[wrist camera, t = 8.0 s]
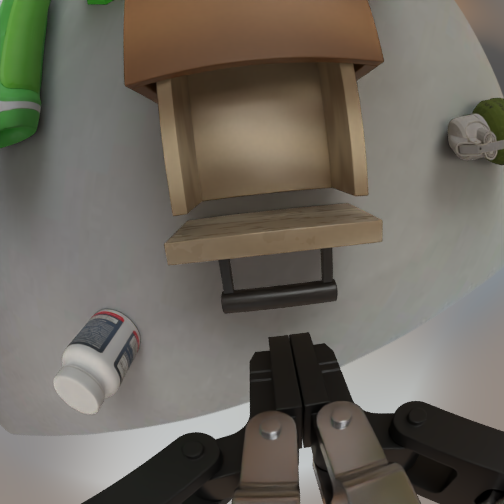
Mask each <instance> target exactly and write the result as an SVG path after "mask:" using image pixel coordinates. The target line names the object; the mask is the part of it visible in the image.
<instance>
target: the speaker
mask: <svg viewBox="0 0 504 504" xmlns="http://www.w3.org/2000/svg"><path fill="white" fill-rule="evenodd" d="M50 2H51V0H0V148H3V147H6V146H10V145H13V144H15V143H18V142H20V141H23V140H25V139H27V138H29V137H30V136H32V135H33V134H34V133H35V132H36V130H37V126H38V122H39V116H40V110H41V104H42V103H41V100H40V88H41V81H42V66H43V54H44V44H45V35H46V28H47V13H48V8H49V5H50Z"/></svg>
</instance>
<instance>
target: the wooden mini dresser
mask: <svg viewBox="0 0 504 504" xmlns="http://www.w3.org/2000/svg"><path fill="white" fill-rule="evenodd" d="M294 62H333V63H353V66H354V71H355V76H356V81H357V80H358V79H360V78H361V77H363V76H364V75H366V74H367V73H369V72H370V71H371V70H373V69H374V68H376V67H377V66H378V65H380V64H381V63H383V62H384V59H383V54H382V50H381V46H380V42H379V38H378V34H377V30H376V26H375V23H374V19H373V16H372V13H371V10H370V6H369V3H368V0H125V5H124V81H125V86H126V87H128V88H130V89H132V90H133V91H135V92H137V93H139V94H141V95H143V96H145V97H146V98H148V99H150V100H152V101H154V102H155V103H157V104H158V98H157V86H156V82H158V81H162V80H166V79H171V78H175V77H180V76H184V75H189V74H194V73H200V72H206V71H211V70H218V69H225V68H232V67H240V66H249V65H260V64H273V63H294Z"/></svg>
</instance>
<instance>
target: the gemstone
mask: <svg viewBox="0 0 504 504" xmlns="http://www.w3.org/2000/svg"><path fill="white" fill-rule="evenodd" d="M111 1H113V0H87V2H88V4H103V5H106V4H108V3H110V2H111Z"/></svg>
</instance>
